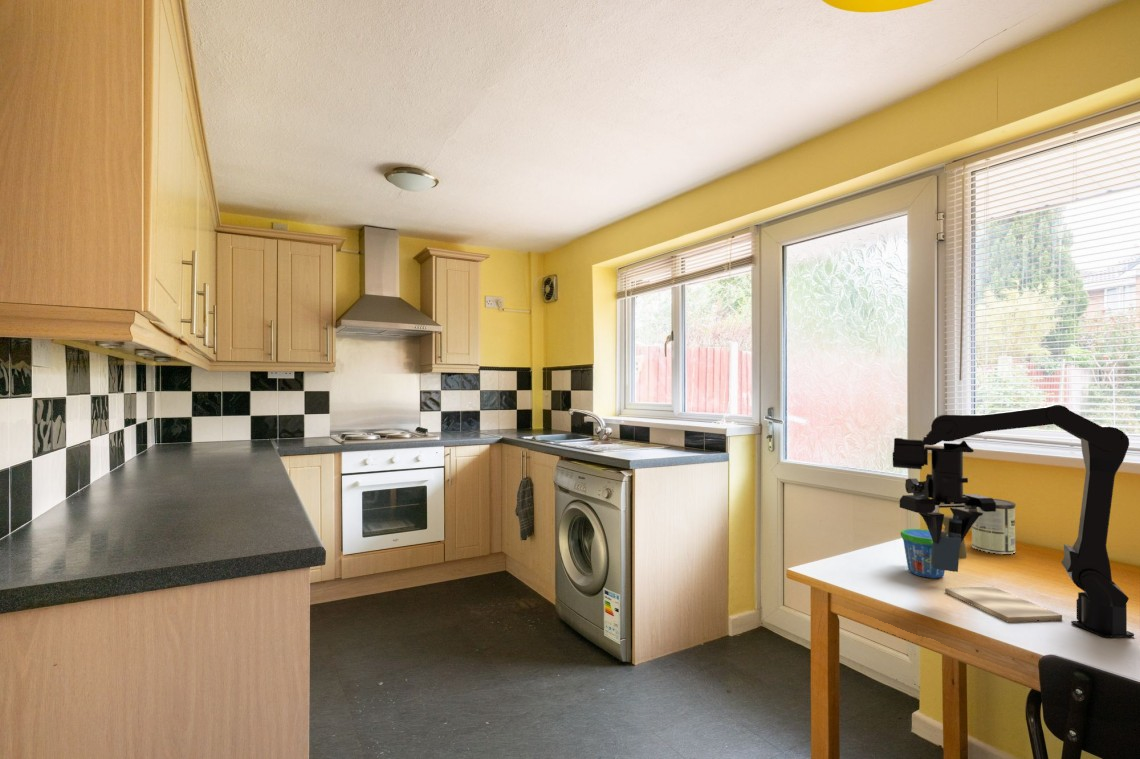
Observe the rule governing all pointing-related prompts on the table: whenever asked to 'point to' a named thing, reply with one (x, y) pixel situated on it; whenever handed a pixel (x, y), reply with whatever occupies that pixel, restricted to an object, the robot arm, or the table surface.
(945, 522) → the cork
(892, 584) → the table surface
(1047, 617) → the birch board
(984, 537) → the coffee can
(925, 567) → the blue plastic tapered tub
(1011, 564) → the table surface
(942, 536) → the vaping device
